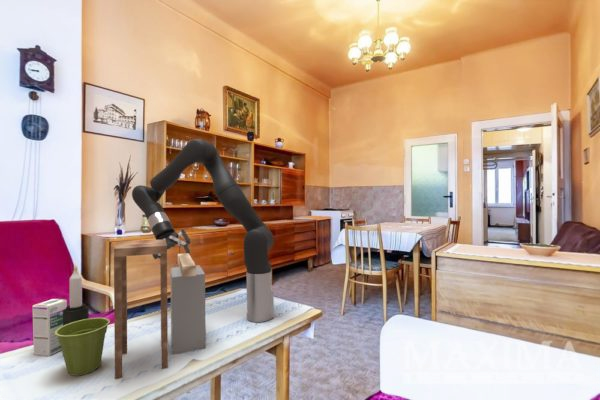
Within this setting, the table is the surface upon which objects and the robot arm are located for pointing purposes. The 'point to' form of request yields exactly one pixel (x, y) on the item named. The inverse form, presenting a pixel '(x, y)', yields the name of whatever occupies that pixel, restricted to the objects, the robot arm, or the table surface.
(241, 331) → the table surface
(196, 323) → the grey rectangular block
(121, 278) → the walnut stool
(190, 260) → the birch bar
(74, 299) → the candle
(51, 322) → the syrup box
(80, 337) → the plant pot
